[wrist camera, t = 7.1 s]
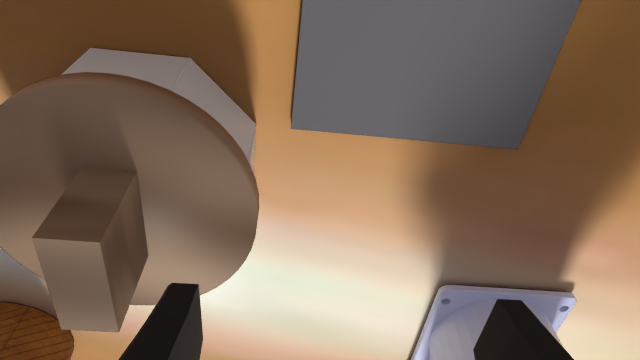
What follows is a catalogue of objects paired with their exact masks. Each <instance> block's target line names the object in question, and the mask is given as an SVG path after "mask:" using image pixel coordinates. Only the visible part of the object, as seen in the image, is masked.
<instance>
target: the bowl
mask: <svg viewBox="0 0 640 360" xmlns="http://www.w3.org/2000/svg"><path fill="white" fill-rule="evenodd" d="M81 72H96V73H111V74H117V75H123V76H129V77H133V78H137V79H140V80H144V81H148V82H151V83H153V84H156V85H158V86H161V87H163V88H166V89H168V90H171V91H173V92H174V93H176V94H178V95H180V96H182V97H184V98H186V99H188V100H189V101H191V102H192V103H194V104H195V105H197V106H198V107H200V108H201V109H203V110H204V111H206V112H207V113H208V114H209V115H210V116H212V117H213V118H214V119H215V120H216V121H218V122H219V123H220V124H221V125H222V126H223V127H224V128H225V129H226V131H227V132H228V133H229V134H230V135H231V136H232V137H233V138H234V140H235V141H236V142H237V144H238V145H239V147H240V148H241V149H242V151H243V152H244V154H245V156H246V158H247V160H248V162H249V163H250V165H251V168H252V171H253V173H254V157H255V134H256V123H255V122H254V121H253V120H252V119H251V118H250V117H249V116H248V115H247V114H246V113H245V112H244V111H243V110H242V109H241V108H240V107H239V106H238V105H237V104H236V103H235V102H234V101H233V100H232V99H231V98H230V97H229V96H228V95H227V94H226V93H225V92H224V91H223V90H222V89H221V88H220V87H219V86H218V85H217V84H216V83H215V82H214V81H213V80H212V79H211V78H210V77H209V76H208V75H207V74H206V73H205V72H204V71H203V70H202V69H201V68H200V67H199V66H198V65H197V64H196V63H195V62H194V61H193V60H192V59H191V58H190V57H189V58H186V57H176V56H166V55H157V54H147V53H137V52H127V51H118V50H108V49H98V48H89V49H88V50H87V51H86V52H85V53H84V54H83V55H82V56H81V57H80V58H79V59H77V60H76V61H75V62H74V63H73V64H72V65H71V66H70V67H69V68H68V69H67V70H66V71H64V72H63V73H62V74H61V75H63V74H69V73H81Z"/></svg>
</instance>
